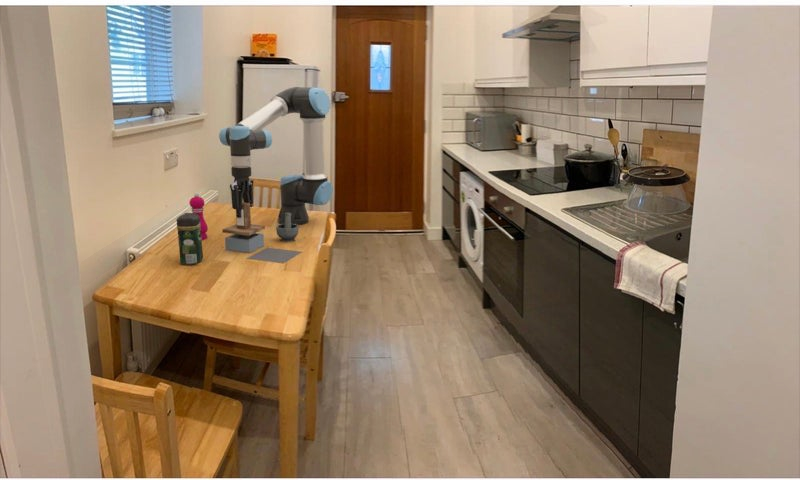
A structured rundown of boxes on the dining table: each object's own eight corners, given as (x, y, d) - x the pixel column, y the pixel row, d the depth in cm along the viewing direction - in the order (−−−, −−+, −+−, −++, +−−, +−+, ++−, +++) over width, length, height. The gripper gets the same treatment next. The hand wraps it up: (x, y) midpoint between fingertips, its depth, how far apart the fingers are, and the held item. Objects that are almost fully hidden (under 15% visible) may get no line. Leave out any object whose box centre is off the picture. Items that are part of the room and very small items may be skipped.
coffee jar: (183, 258, 210) (179, 211, 205) (204, 257, 212) (201, 211, 207) (177, 266, 201) (173, 217, 196) (200, 265, 202) (196, 217, 197)
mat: (267, 249, 225) (267, 247, 224) (302, 253, 220) (302, 251, 220) (246, 260, 210) (246, 258, 210) (283, 265, 206) (283, 263, 205)
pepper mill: (187, 239, 234) (183, 194, 229) (197, 235, 241) (194, 191, 236) (201, 241, 233) (198, 195, 227) (211, 237, 239) (208, 192, 234)
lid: (239, 225, 228) (238, 199, 225) (264, 228, 225) (263, 202, 222) (222, 232, 217) (220, 204, 214) (249, 235, 214) (247, 207, 211)
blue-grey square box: (240, 244, 230) (240, 231, 228) (264, 247, 227) (263, 233, 225) (225, 251, 219) (224, 237, 218) (249, 254, 216) (249, 240, 215)
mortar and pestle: (298, 244, 232) (297, 217, 229) (275, 244, 231) (275, 217, 228) (299, 237, 243) (299, 211, 240) (278, 237, 242) (277, 211, 238)
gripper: (237, 169, 205) (240, 229, 211) (261, 164, 221) (263, 220, 227) (220, 168, 207) (223, 227, 213) (244, 163, 223) (247, 218, 229)
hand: (243, 223), depth 220 cm, fingers closed on lid, 4 cm apart
